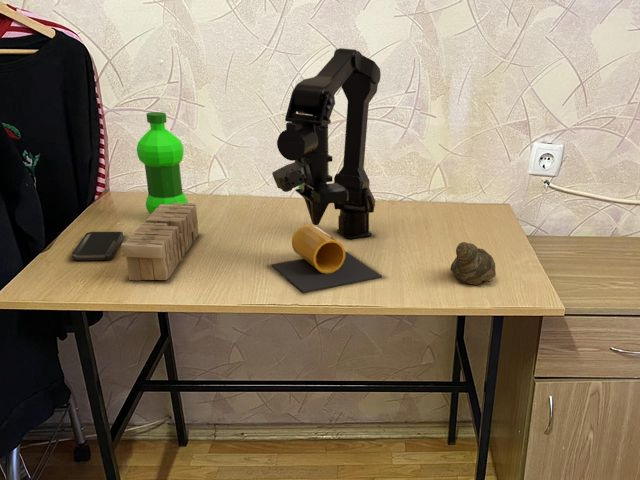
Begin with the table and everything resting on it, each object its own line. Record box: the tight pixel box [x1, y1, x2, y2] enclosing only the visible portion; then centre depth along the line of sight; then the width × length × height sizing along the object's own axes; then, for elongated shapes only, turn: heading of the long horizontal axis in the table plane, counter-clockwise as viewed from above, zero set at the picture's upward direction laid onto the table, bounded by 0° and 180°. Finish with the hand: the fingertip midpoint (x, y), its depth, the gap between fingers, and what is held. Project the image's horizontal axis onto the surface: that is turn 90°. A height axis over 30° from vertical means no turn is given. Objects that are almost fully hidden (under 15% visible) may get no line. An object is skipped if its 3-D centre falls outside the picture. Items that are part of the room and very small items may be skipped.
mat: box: [271, 251, 383, 294], centre depth 152 cm, size 18×16×1 cm
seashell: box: [450, 241, 497, 286], centre depth 152 cm, size 11×12×10 cm
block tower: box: [120, 202, 199, 281], centre depth 153 cm, size 8×8×29 cm
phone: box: [71, 231, 125, 262], centre depth 156 cm, size 8×1×15 cm
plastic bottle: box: [136, 111, 189, 215], centre depth 171 cm, size 10×10×25 cm
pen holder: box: [291, 224, 346, 274], centre depth 153 cm, size 7×7×11 cm
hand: (315, 224), depth 151 cm, fingers closed
